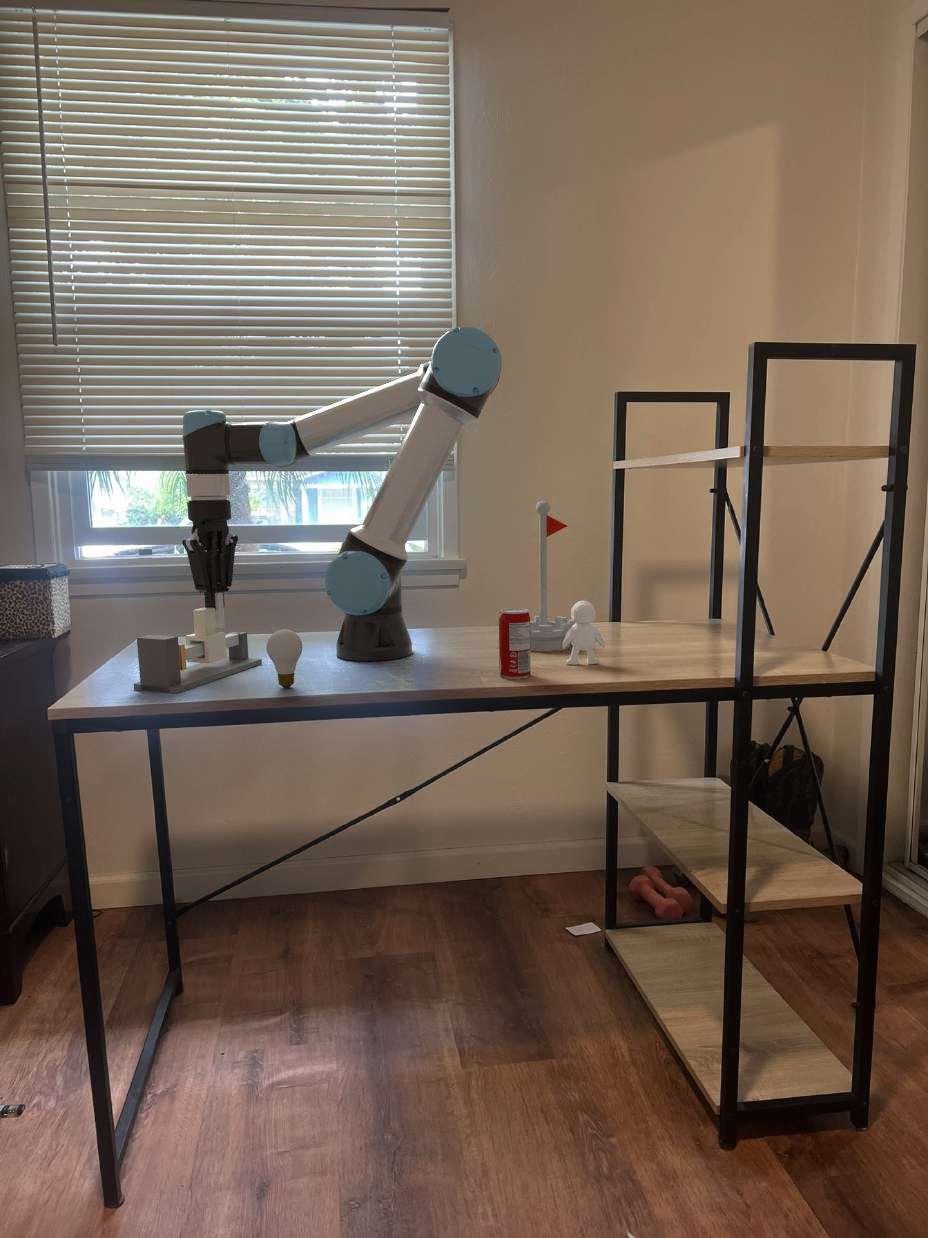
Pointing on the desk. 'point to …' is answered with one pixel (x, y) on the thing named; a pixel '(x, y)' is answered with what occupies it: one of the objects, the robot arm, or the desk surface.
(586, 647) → the figurine
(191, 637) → the sleeve
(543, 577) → the flag stand
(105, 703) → the desk surface
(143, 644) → the rail
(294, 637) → the light bulb
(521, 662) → the soda can
